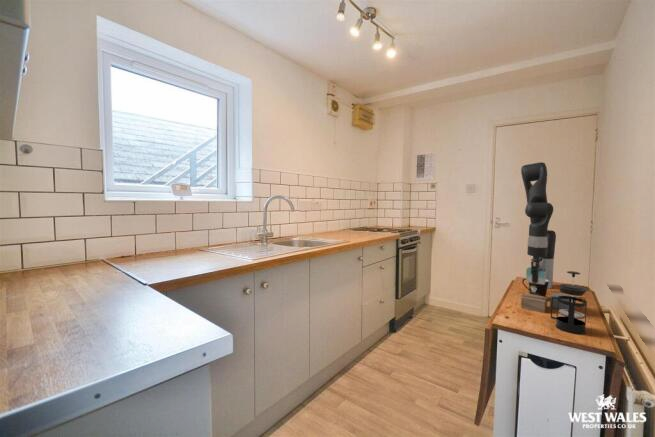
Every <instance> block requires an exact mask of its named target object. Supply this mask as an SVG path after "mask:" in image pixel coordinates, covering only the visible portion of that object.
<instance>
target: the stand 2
mask: <svg viewBox="0 0 655 437" xmlns="http://www.w3.org/2000/svg"><path fill="white" fill-rule="evenodd" d="M552 296H554V297H558V296H571V297H572V295H569V294H564V293H556V292H552V293H551V295H550V298H549V299H550V300H549V308H550V309H551V302H552ZM573 297H576V296H575V295H573ZM561 300H564V301H568V302H569V299H561ZM557 302H558V299H555V298H553V307H552V309H554V310H555V309H556V310H557ZM575 303H577V301H575ZM561 309H566V310H569V305H566V304H563V303H560V302H558V310H561ZM575 309H576V306H575Z"/></svg>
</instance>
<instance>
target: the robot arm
mask: <svg viewBox="0 0 655 437" xmlns="http://www.w3.org/2000/svg"><path fill="white" fill-rule="evenodd" d="M520 171H521V172H520V174H521V178H522V181H523V186H524V190H525V197H526V202H527V203H526V207H525V208H524V213H525V215H526V216H527V217H528V218H529V220H530V224H529V226H528V239H527V255H528V256H530V257H531V256H532V259H530V268H531V274H532V282H533V283H538V274H539V270H540V269H545V270H546V279H547V280H549V282H548V287H547V290H549V289H550V290H551V289H553V285H554V284H553V283H554V267H555V266H554V261H555V260H554V259H555V249H556V243H557V242H556V241H557V233H556V231H554V230H551V229H550V230H548V228H549V223H550V220H551V219H552V218H551V217H552V216H553V213H554V206H553V204H552V203H550V202H548V196H547V182H548V169H547V165H546V163H545V162H542V161H541V162H534V163H530V164H529V163H527V164H524V165H522V166H521V169H520ZM532 182H534V184H532ZM534 270H536V272H534Z"/></svg>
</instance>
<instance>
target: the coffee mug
mask: <svg viewBox="0 0 655 437" xmlns="http://www.w3.org/2000/svg"><path fill="white" fill-rule="evenodd" d="M524 281H526V278H523V279H522V281H521V283H522V285H523V286H524V288H526V289H527V290H528V291H529V294H533V295H538V296H544V297H547V296H546V295H547V293H548V292H547V291H548V289H547V287H548V282H549V280H547V279H546V282H545V284H544V285H543V284H537V283H530V282H528V287H527V285H526V284H525V283H524Z"/></svg>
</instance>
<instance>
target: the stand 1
mask: <svg viewBox="0 0 655 437" xmlns="http://www.w3.org/2000/svg"><path fill="white" fill-rule="evenodd" d="M548 298H549V297H548V296H546V297H544V296H538V295H533V294H530V293H527V292H525V293H524V294H523V295H522V296H521V298H520V300H521V301H520V302H521V303H520V308H521V309H525V310H530V311H534V312H539V313H545V312H546V310H547V308H548Z"/></svg>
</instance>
